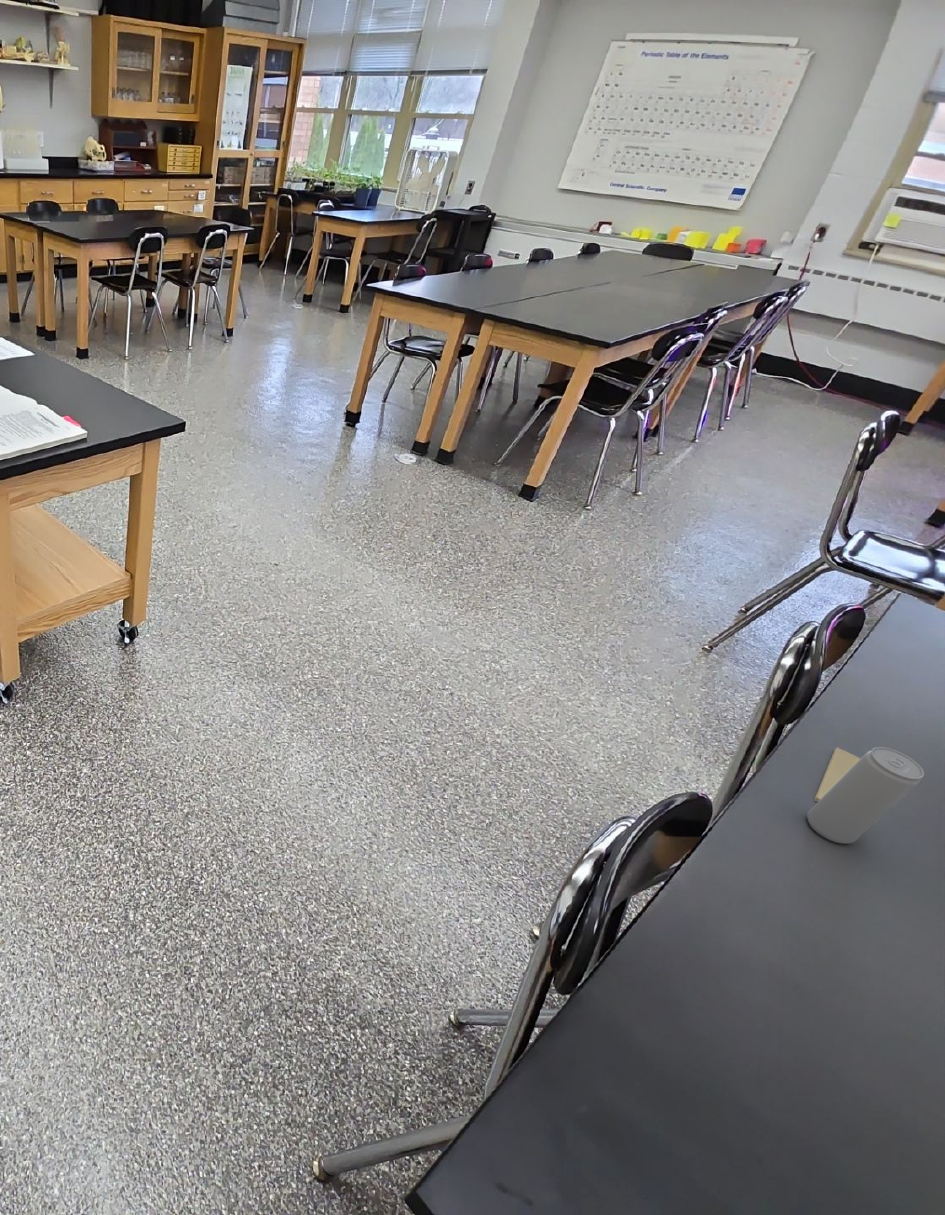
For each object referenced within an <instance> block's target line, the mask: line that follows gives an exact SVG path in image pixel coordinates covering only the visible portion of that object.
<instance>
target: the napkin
mask: <svg viewBox="0 0 945 1215" xmlns="http://www.w3.org/2000/svg"><path fill="white" fill-rule="evenodd" d="M861 758H862V757H859V756H857V755H854V754H852V753H851V752H848V751H846V750H844V749H841V748H840V747H836V748H835V749H834V751H833V753H832V755H831V758H830V760H829V763H828V765H827V767H826V770H825V772H824V775H823V777H822V779H821V782H820V784H819V787H818V789H817V791H816V794H815V797H814V799H813V800H814V802H816V803H818V802H819V801H820V800H821V799H822V798H823V797H824V796H825V795H826V793H827V792H828V791H829V790H830V789H831V788H832V787H833V786H834V785H835V784H836V783H837V782H838V781H839V780H840V779H841V778H842V777H843V776H844V775H845V774H846V773H847V772H848V771H849V770H850V769H851V768H852V767H853V766H854V765H855V764H856V763H857V762H858V761H859V760H860V759H861Z"/></svg>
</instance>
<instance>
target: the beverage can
mask: <svg viewBox="0 0 945 1215" xmlns="http://www.w3.org/2000/svg"><path fill="white" fill-rule="evenodd" d="M860 758H861V759H860V760H859V761H858V762H857V763H856V764H855V765H854V766H853V767H852V768H851V769H850V770H849V771H848V772H847V773H846V774H845V775H844V776H843V777H842V778H841V779H840V780H839V781H838V782H837V783H836V784H835V785H834V786H833V787H832V788H831V789H830V790H829V791H828V792H827V793H826V795H825V796H824V797H823V798H822V799H821V800H820V801H819V802H816V804H815V805H813V807H811V808H810V809H809V810H808V812H807V814H806V818H807V822H808V823H809V826H810V828H812V830H813V831H815V832H816V833H817V834H818V835H819V836H821V837H822V838H824V839H826V840H828V841H831V842H833V843H836V844H837V843H838V844H845V845H846V844H853V843H855V842H856V841H857V840H858V839H860V838H861V836H863V834H866V832H867V831H868V830H869V829H870V828H872V827H873V826H874V825H875V824H876V823H877V822H878V821H879V820H880V819H881V818H882V817H883V816H884V815H886V814H887V813H888V812H889V811H891V809H893V807H895V806H896V805H897V804H898V803H899V802H900V801H901V800H903V799H904V797H905V796H907V795H908V794H909V793H910V792H911V791H912V790H913V789H914V788H915V787H916V786H918V785H919V784H920V783H921V781H922V778H924V777H925V771H924V769H923V767H922V766H921V765H920V764H919V763H918V762H917V761H915V759H913V758H911V757H910V756H908V755H907V754H904V753H902V752H900V751H898V750H895V749H892V748H889V747H884V746H876V747H873V748H872V749H871V750H869V751H867V752H866V753H865V754H864V755H863V756H862V757H860Z"/></svg>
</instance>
